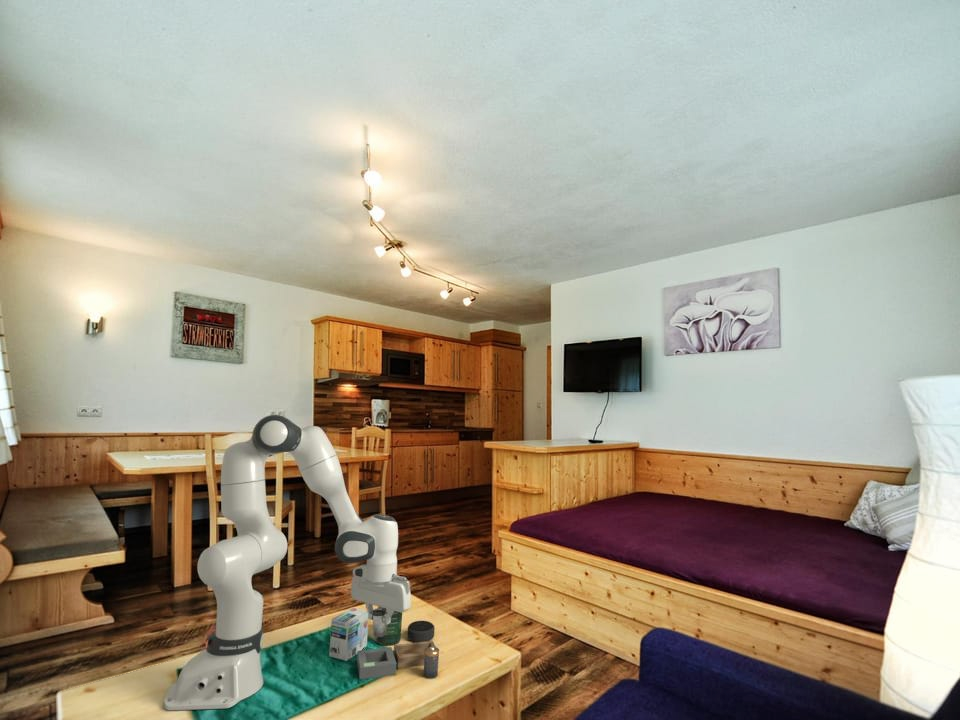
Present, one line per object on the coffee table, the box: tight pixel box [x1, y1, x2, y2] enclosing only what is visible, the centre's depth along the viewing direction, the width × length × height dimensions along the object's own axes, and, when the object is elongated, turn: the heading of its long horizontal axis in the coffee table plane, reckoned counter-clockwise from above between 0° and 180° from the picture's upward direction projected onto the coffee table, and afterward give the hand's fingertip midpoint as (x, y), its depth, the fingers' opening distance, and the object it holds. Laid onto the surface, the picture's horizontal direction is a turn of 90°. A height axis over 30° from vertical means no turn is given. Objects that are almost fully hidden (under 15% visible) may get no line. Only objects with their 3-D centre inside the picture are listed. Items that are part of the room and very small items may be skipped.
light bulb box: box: [328, 607, 369, 662], centre depth 148 cm, size 11×7×11 cm, turn 158°
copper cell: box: [422, 646, 440, 679], centre depth 137 cm, size 4×4×7 cm
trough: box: [393, 640, 436, 670], centre depth 144 cm, size 12×8×3 cm, turn 108°
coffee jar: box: [376, 606, 403, 646], centre depth 158 cm, size 10×8×19 cm
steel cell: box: [372, 606, 387, 638], centre depth 140 cm, size 4×4×7 cm
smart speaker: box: [406, 620, 436, 643], centre depth 159 cm, size 9×9×4 cm
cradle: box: [356, 646, 397, 680], centre depth 139 cm, size 10×10×3 cm
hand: (379, 621), depth 140 cm, fingers closed on steel cell, 4 cm apart
